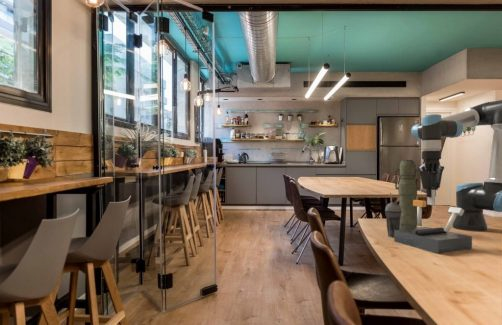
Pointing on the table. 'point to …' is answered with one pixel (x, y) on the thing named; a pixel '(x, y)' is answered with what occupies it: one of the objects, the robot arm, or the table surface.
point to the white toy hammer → (453, 217)
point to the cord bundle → (429, 231)
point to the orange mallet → (419, 210)
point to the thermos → (407, 193)
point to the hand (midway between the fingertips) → (431, 204)
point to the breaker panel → (433, 240)
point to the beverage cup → (392, 217)
